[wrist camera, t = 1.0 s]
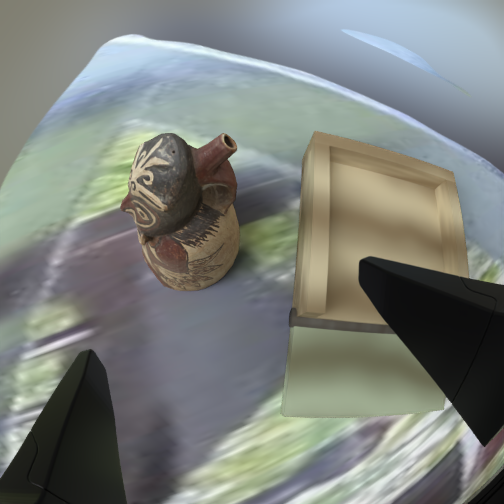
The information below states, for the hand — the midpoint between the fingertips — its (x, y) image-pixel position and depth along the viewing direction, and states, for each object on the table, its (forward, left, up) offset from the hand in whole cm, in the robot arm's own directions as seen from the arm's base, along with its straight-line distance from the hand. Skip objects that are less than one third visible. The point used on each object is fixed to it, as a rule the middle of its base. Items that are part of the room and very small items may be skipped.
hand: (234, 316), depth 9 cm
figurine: (+6, -5, -13) cm, 15 cm away
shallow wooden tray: (-9, -10, -13) cm, 18 cm away
